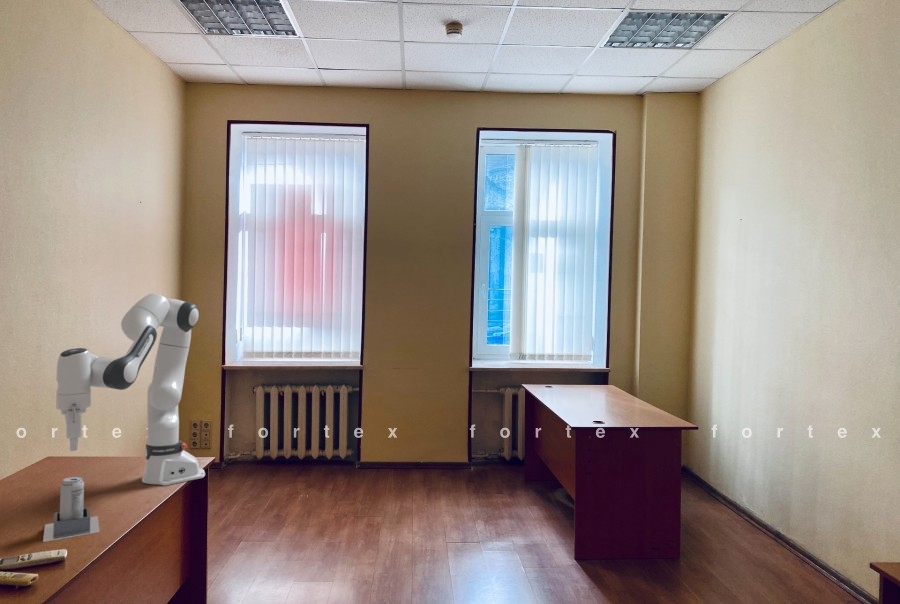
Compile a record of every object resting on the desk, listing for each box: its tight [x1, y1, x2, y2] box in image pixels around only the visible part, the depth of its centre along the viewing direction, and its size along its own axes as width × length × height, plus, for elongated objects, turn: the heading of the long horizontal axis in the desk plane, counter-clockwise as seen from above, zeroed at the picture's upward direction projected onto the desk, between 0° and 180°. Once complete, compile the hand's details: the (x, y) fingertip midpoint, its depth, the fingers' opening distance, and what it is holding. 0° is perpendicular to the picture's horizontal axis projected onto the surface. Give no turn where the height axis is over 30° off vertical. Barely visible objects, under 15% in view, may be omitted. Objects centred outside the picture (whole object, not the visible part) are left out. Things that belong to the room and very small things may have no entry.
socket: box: [42, 507, 100, 543], centre depth 175 cm, size 14×14×5 cm
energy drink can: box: [59, 476, 85, 521], centre depth 175 cm, size 6×6×15 cm
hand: (73, 446), depth 175 cm, fingers open, 8 cm apart
